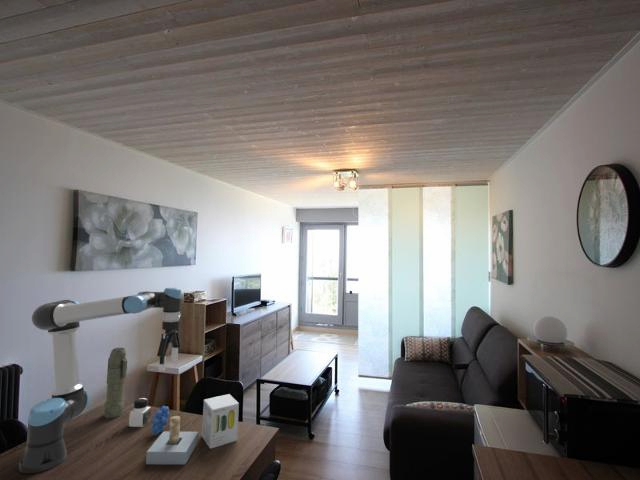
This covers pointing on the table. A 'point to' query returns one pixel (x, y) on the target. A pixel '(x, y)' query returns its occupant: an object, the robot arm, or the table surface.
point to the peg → (174, 430)
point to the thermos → (115, 383)
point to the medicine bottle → (140, 413)
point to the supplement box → (220, 420)
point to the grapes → (160, 420)
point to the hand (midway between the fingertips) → (168, 365)
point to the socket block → (172, 449)
